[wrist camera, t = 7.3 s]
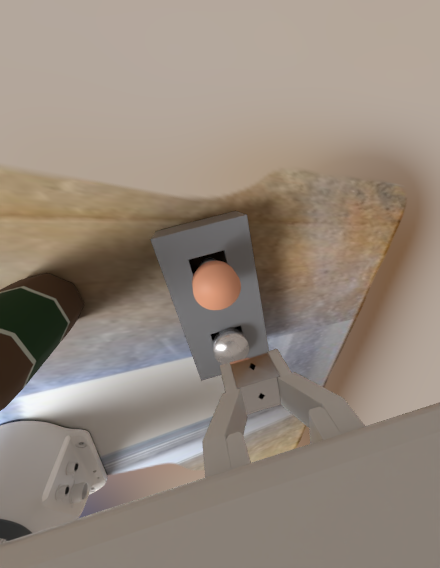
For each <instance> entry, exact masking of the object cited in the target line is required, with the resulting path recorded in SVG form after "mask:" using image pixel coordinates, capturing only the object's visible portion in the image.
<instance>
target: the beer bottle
mask: <svg viewBox="0 0 440 568" xmlns="http://www.w3.org/2000/svg"><path fill="white" fill-rule="evenodd" d="M83 306H84V302H83V300H82V298H81V297H80V295H79V293H78V291H77V289H76V288H75V286H74V284H73V283H70V282H68V281H66V280H63V279H61V278H58V277H56V276H54V275H51V274H49V273H46V274H42V275H38V276H34V277H30V278H26V279H22V280H20V281H17V282H15V283H13V284H11V285H9V286H7V287H5V288H3V289H1V290H0V411H1V410H2V409H4V408H5V407H6V406H7V405H8V404H9V403H10V402H11V401H12V400H13V399H14V398H15V396H16V395H17V394H18V393H19V392H20V391H21V390H22V389H23V388H24V387H25V385H26V384H27V383H28V382H29V380H30V379H31V378H32V377H33V375H34V374H35V373H36V372H37V370H38V369H39V368H40V367H41V366H42V364H43V363H44V362H45V361H46V359H47V358H48V357H49V356H50V354H51V353H52V352H53V351H54V349H55V348H56V347H57V346H58V344H59V343H60V342H61V341H62V340H63V338H64V337H65V336H66V335H67V333H68V332H69V331H70V330H71V328H72V327H73V325H74V324H75V322H76V320H77V318H78V316H79V314H80V312H81V310H82V308H83Z"/></svg>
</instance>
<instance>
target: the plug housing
mask: <svg viewBox="0 0 440 568" xmlns="http://www.w3.org/2000/svg"><path fill="white" fill-rule="evenodd" d="M150 240H151V242H152V245H153V248H154V251H155V254H156V256H157V259H158V262H159V265H160V267H161V270H162V273H163V276H164V278H165V281H166V284H167V287H168V289H169V292H170V295H171V298H172V301H173V303H174V306H175V309H176V312H177V314H178V317H179V320H180V323H181V325H182V328H183V331H184V334H185V337H186V339H187V342H188V345H189V348H190V350H191V353H192V356H193V359H194V361H195V364H196V367H197V370H198V373H199V375H200V378H201V381H202V380H205V379H208V378H212V377H215V376H218V375H222V374H221V370H220V365H223V364H221V363H220V362H218V361H217V360H216V358H215V356H214V351H213V346H212V342H213V340H212V336H211V334H214V333H217V332H220V331H222V330H224V329H228V328H234V327H238V326H240V327H241V332H243V334H244V335H245V337H246V340H247V342H248V344H249V352H248V355H247V356H246V358H248V357H251V356H255V355H258V354H261V353H265V352H268V351H269V348H268V342H267V336H266V329H265V323H264V317H263V311H262V305H261V299H260V293H259V286H258V280H257V274H256V268H255V262H254V256H253V249H252V243H251V237H250V231H249V225H248V219H247V215H246V214H243V213H240V212H237V211H233V212H229V213H225V214H221V215H218V216H214V217H210V218H206V219H202V220H198V221H194V222H190V223H186V224H182V225H178V226H174V227H170V228H166V229H163V230H159V231H156V232H155V233H154V235H153V236H152V238H151V239H150ZM223 250H224V255H225V259H226V263H227V264H228V265H230V266H231V267H232V268H233V269H234V271H235V272H236V274H237V275H238V277H239V279H240V282H241V291H240V294H239V296H238V298H237V300H236V301H235V302H234V303H233V304H232V305H231V306H229V307H227V308H225V309H222V310H209V309H206V308H204V307H202V306H201V305H200V304H199V303H198V302H197V301H196V299H195V297H194V294H193V287H192V279H193V272H192V269H191V266H190V262H189V259H193V258H197V257H201V256H205V255H208V254H212V253H216V252H220V251H223ZM230 366H231V365H230Z"/></svg>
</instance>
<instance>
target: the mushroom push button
mask: <svg viewBox="0 0 440 568" xmlns="http://www.w3.org/2000/svg"><path fill="white" fill-rule="evenodd" d="M192 287H193V294H194V297H195V299H196V301H197V302H198V303H199V304H200V305H201V306H202V307H204V308H206V309H209V310H222V309H225V308H227V307H229V306H231V305H232V304H233V303H234V302H235V301H236V300H237V298H238V296H239V294H240V291H241V282H240V279H239V277H238V275H237V274H236V272H235V271H234V269H233V268H232V267H231V266H230V265H228V264H227V263H225V262H222V261H217V260H215V259H214V258H206V259H204V260H202V261H201V263H200V265H199V268H198V269H197V270H196V272H195V273H194V275H193V279H192Z"/></svg>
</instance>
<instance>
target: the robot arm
mask: <svg viewBox="0 0 440 568" xmlns="http://www.w3.org/2000/svg"><path fill="white" fill-rule="evenodd" d="M230 365H231V366H230ZM220 370H221V374H222V379H223V384H224V388H225V393H223V394H222V396H221V399H220V401H219V404H218V406H217V408H216V411H215V413H214V415H213V418H212V420H211V423H210V425H209V427H208V430H207V432H206V435H205V437H204V439H203V455H204V468H205V478H203V479H200V480H197V481H194V482H191V483H187V484H184V485H181V486H178V487H175V488H172V489H169V490H166V491H163V492H160V493H156V494H153V495H150V496H147V497H144V498H141V499H138V500H135V501H131V502H128V503H125V504H122V505H119V506H116V507H113V508H110V509H107V510H103V511H100V512H97V513H94V514H91V515H88V516H85V517H82V518H79V519H78V517H79V516H80V515H81V513H82V511H83V509H84V506H85V504H86V501H87V498H88V495H89V494H91V493H93V492H95V491H97V490H99V489H100V488H101V487H103V486H104V485H105V483H106V481H107V475H106V472H105V470H104V467H103V465H102V462H101V460H100V457H99V455H98V453H97V450H96V448H95V445H94V443H93V441H92V438H91V436H90V433H89V432H88V431H86V430H81V429H68V428H64V427H61V426H58V425H55V424H51V423H46V422H40V421H18V422H12V423H7V424H4V425H1V426H0V568H440V403H436V404H434V405H430V406H428V407H425V408H421V409H418V410H415V411H412V412H409V413H405V414H402V415H399V416H396V417H393V418H390V419H387V420H384V421H381V422H377V423H374V424H371V425H368V426H365V425H364V424H363V423H362V421H361V420H360V419H359V418H358V416H357V415H356V414H355V412H354V411H353V410H352V408H351V407H350V406H349V405H348V403H347V402H346V401H345V399H344V398H342V397H340V396H338V395H337V394H335V393H333V392H331V391H329V390H327V389H325V388H323V387H322V386H320V385H318V384H316V383H314V382H312V381H310V380H308V379H307V378H305V377H303V376H301V375H299V374H297V373H295V372H294V373H292V372H291V371H290V369H289V368H288V366H287V364H286V363H285V361H284V359H283V358H282V356H281V354H280V353H279V351H278V350H277V349H274V350H271V351H268V352H265V353H261V354H258V355H255V356H251V357H248V358H245V359H241V360H237V361H233V362H230V363H227V364H223V365H220ZM278 405H282V406H283V407H284V408H285V409H287V410H288V411H289V412H290V413H292V414H293V415H294V416H295V417H296V418H298V419H299V420H300V421H301V422H303V423H304V424H305V425H306V426H307V427H309V428H310V444H309V445H306V446H303V447H300V448H296V449H293V450H290V451H287V452H284V453H281V454H278V455H275V456H272V457H268V458H265V459H262V460H259V461H256V462H253V463H251V461H250V458H249V454H248V451H247V447H246V444H245V440H244V436H243V434H244V429H245V425H246V421H247V415H249V414H251V413H254V412H257V411H260V410H263V409H267V408H270V407H274V406H278Z"/></svg>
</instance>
